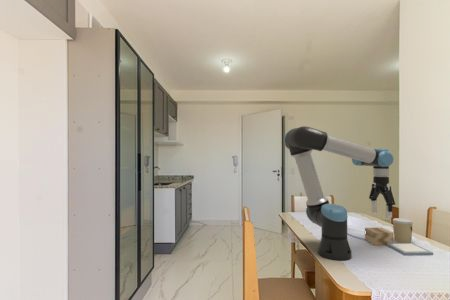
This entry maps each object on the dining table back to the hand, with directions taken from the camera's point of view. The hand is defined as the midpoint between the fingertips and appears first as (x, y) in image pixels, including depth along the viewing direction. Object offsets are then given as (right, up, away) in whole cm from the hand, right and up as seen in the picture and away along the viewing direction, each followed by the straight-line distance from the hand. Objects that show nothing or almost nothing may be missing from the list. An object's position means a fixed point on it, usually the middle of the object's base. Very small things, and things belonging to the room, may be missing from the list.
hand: (381, 214), depth 147 cm
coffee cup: (+13, -15, +1) cm, 20 cm away
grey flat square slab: (+7, -15, -12) cm, 20 cm away
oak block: (-1, -16, 0) cm, 16 cm away
